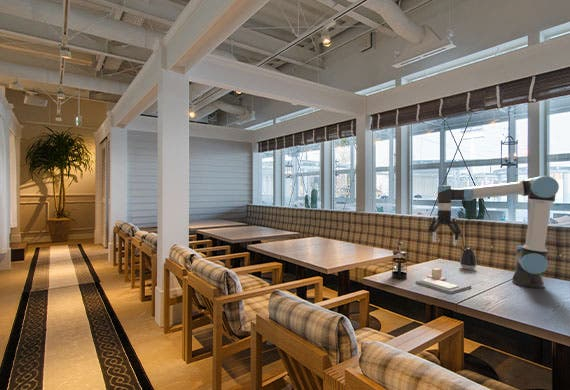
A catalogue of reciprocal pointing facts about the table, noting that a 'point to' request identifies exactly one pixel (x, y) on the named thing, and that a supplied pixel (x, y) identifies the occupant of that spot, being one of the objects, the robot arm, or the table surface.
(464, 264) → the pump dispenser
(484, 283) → the table surface
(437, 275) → the stub
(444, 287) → the board
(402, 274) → the french press
